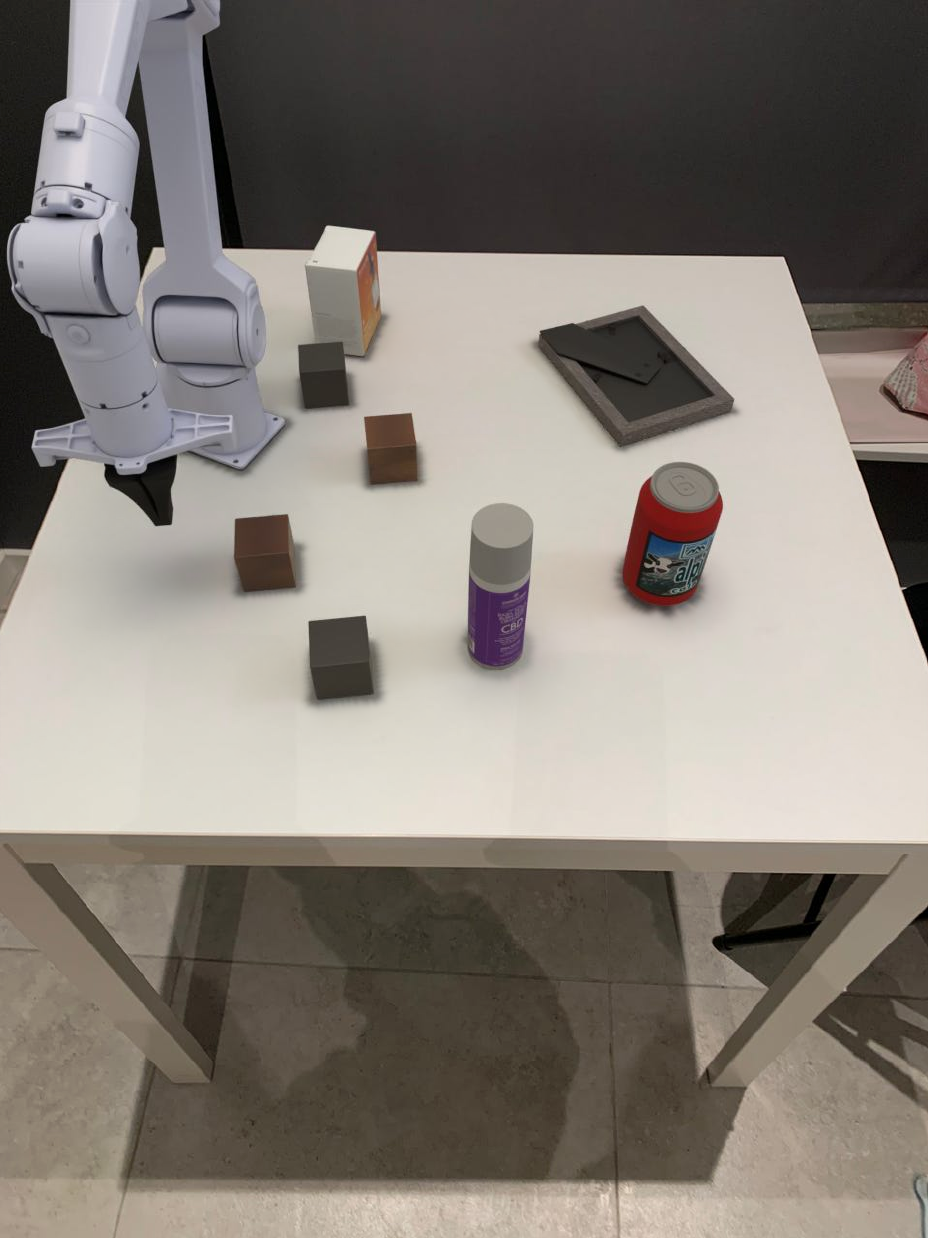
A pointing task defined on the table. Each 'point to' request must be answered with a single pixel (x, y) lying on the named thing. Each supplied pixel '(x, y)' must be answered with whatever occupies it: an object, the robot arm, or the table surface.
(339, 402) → the charcoal end block
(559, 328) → the picture frame
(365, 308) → the small box
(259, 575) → the walnut block
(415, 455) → the walnut block
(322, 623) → the charcoal front block
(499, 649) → the container
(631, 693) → the table surface
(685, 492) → the beverage can
